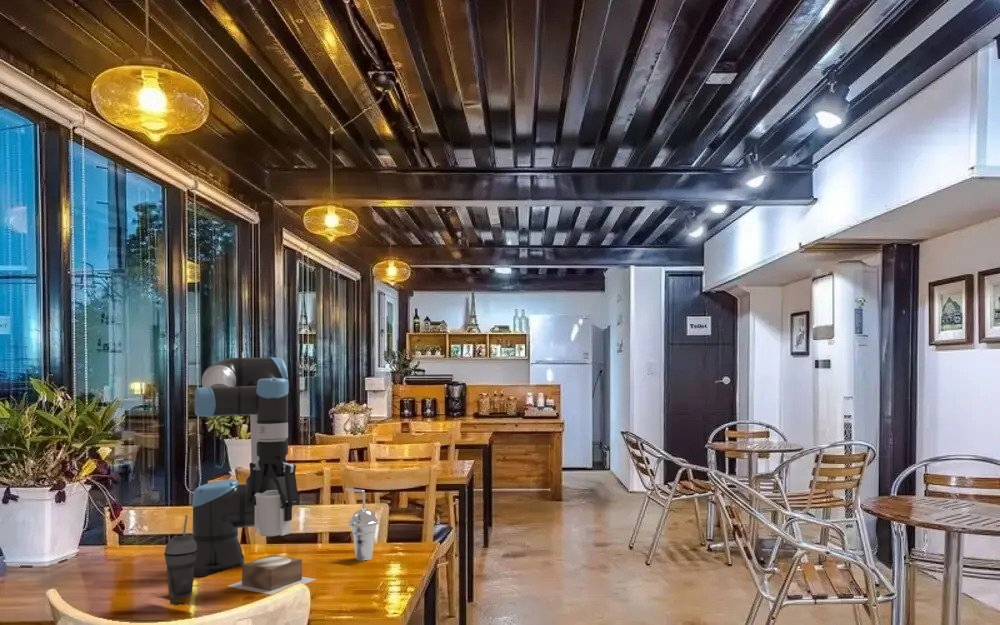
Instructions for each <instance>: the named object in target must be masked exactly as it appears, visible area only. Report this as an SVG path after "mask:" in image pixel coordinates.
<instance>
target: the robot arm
mask: <svg viewBox="0 0 1000 625" xmlns="http://www.w3.org/2000/svg"><path fill="white" fill-rule="evenodd" d="M289 385H290V384H289V374H288V369H287V364H286V362H285V360H284V359H283V358H281V357H272V356H266V357H229V358H225V359H222V360H219V361H217V362H214V363H213V364H212V365H210V366H208V367H207V368H206V369H205V370H204V372H203V374H202V377H201V386H202V387H198V388H196V389H195V392H194V414H195V416H197V417H200V418H201V417H207V418H212V417H228V416H230V417H231V416H250V418H249V419H250V461H251V462H250V463H249V472H250V473H249V475H247V477H246V478H245V483H244V484H243V483H242V484H240V482H239V481H238V479H237V478H236V479H235V478H231V479H230V478H229V479H221V480H217V481H212V482H208V483H205V484H202V485H200V486H199V485H198V487H196V489H194V491H193V494H192V504H191V507H192V531H191V532H192V533H191V534H192V536H191V537H192V538H193V539H194V540H195V542H196V545H197V550H198V551H197V555H196V559H195V567H194V577H208V576H212V575H214V574H218V573H221V572H224V571H228V570H230V569H231V570H232V569H234V568H237V567H242V564H245V555H244V553H243V549H242V546H241V543H240V540H239V529H241V528H252V527H253V528H254V533H260V529H259V521H258V512H257V504H256V496H255V494H256V493H264V492H266V491H270V490H278V493H279V495H280V499H281V503H282V507H281V508H280V535H279V536H282V537H283V536H285V535H289V534H291V521H292V519H293V507H294V506H296V505H298V504H299V501H300V500H299V492H298V485H297V478H296V470H297V465H296V463H291V464H290V463H288V462H287V458H286V457H287V455H288V454H289V441H288V438H289V419H288V415H289V414H288V412H289V411H288V410H289V392H290V391H289V388H290V386H289Z"/></svg>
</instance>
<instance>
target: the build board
mask: <svg viewBox="0 0 1000 625" xmlns="http://www.w3.org/2000/svg"><path fill="white" fill-rule="evenodd" d="M316 580H317V579H316V578H311V577H305V576H302V580H300V581H297V582H295V583H292V584H289V585H286V586H284V587H281V588H278V589H275V590H273V591H269V590H264V589H258V588H253V587H248V586H242V580H241V581H238V582H235V583H232V584H229V585H227V587H229V588H235V589H239V590H245V591H250V592H254V593H255V592H256V593H261V594H266V595H271V596H274V595H273V594H275V593H277V592H279V591H282V590H284V589H286V588H288V587H290V586H293V585H295V584H298V583H303V585H306V584H308V583H311V582H314V581H316Z"/></svg>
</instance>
